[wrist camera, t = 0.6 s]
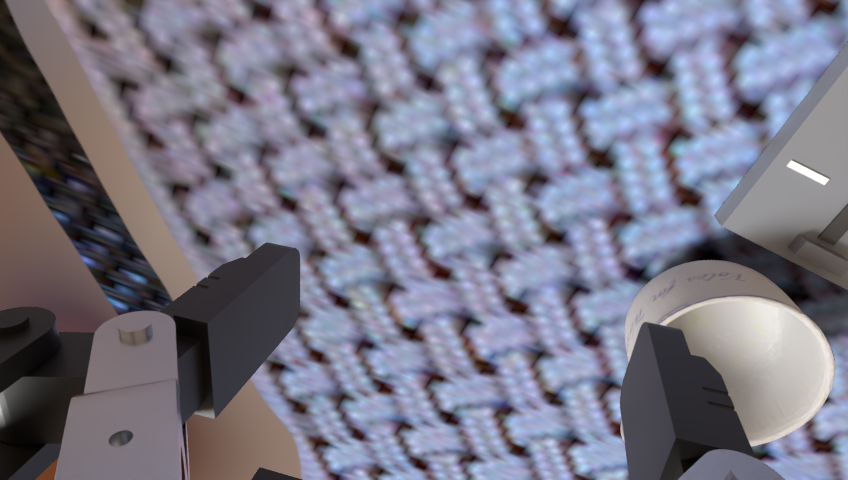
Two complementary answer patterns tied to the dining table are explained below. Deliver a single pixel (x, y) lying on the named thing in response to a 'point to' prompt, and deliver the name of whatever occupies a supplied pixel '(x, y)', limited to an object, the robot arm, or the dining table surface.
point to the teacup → (743, 341)
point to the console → (802, 183)
